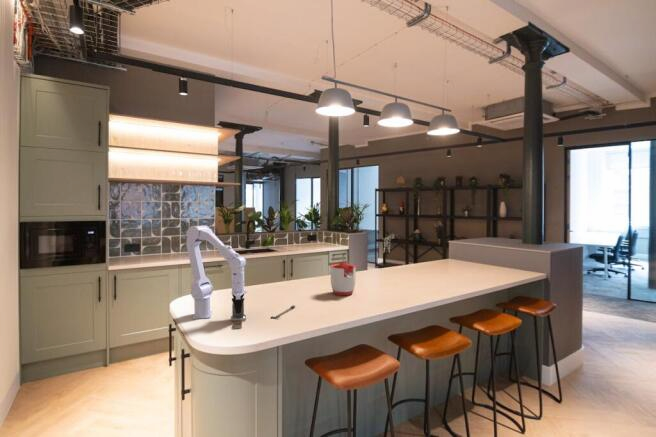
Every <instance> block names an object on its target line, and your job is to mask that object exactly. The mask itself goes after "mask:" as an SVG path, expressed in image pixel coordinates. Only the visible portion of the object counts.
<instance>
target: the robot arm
mask: <svg viewBox="0 0 656 437" xmlns="http://www.w3.org/2000/svg"><path fill="white" fill-rule="evenodd" d="M185 234H186V243H185V244H186V250H187V254H188V259H189V264H190V266H191V267H190V268H191V272H192V273H191V274H192V276H193V277H192V278H193V281H192V282H191V283H190V287H191V288H190V289H191V290H190V295H191V298H192V299H193V300H194V313H193V317H192V319H193V320H195V319H196V320H197V319H199V320H200V319H209V318H210V319H211V317H212V313H213V312H212V311H211V297H212V296H211V295H212V294H213V291H214V287H213V285H212V283H211V280H210V279H209V278H208V277H207V275H206V271H205V267H204V262H203V259H202V258H203V257H202V254H201V249H200V245H201V243H203V241H207V242H209V243H210V244H211V245H212V246H213V247H215V248H216V249H217V250H218V251H219V252H218V253H219V255H220V256H221V257H222V258H223V259H224V260H225V261H226V262H227V263H228V265H229V268H230V273H231V295H232V298H231V302H232V304H233V303H234V306H235V312H236V314H237V313H241V309H242V304H243V302H244V301H245V297H244V296H245V294H247V293H248V290H245V267H246V265H247V259H246V257H245V256H244V255H240V254H239V253H238V252H236V251H235V249H233V247H232V246H231V245H228V244H226V245H225V244H224V242H222V241H221V240H220V239H219V238H218V236H217V235H216V234H214V232H213V229H211V227H209V226H208V225H206V224H202V225H191V226H190V227H188V229H187V231H186V232H185Z"/></svg>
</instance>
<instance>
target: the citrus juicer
mask: <svg viewBox="0 0 656 437" xmlns="http://www.w3.org/2000/svg"><path fill="white" fill-rule="evenodd" d="M356 267H357V265H355V264H351V263H347V262H345V261H344V260H342V261H341V262H340V263H335V264H331V265H330V285H331V289H332V293H333V294H334V295H338V296H349V295H352V294H353V293H354V291H355V287H356Z"/></svg>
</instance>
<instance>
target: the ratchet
mask: <svg viewBox="0 0 656 437" xmlns="http://www.w3.org/2000/svg"><path fill="white" fill-rule="evenodd" d="M246 321H247V315H246V314H244V318H232V315H231V316H230V322H231V323H234V329H235V330H240V329H242V328H243V323H244V322H246Z"/></svg>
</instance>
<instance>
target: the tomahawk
mask: <svg viewBox="0 0 656 437" xmlns="http://www.w3.org/2000/svg"><path fill="white" fill-rule="evenodd" d="M294 308H296V305H291V306H290V308H287V309H285V310H284V311H282V312H281V313H278V315H276V316H270V319H273V320H280V318H281V316H283V315H285V314H288V312H290V311H292V310H293V309H294Z"/></svg>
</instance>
